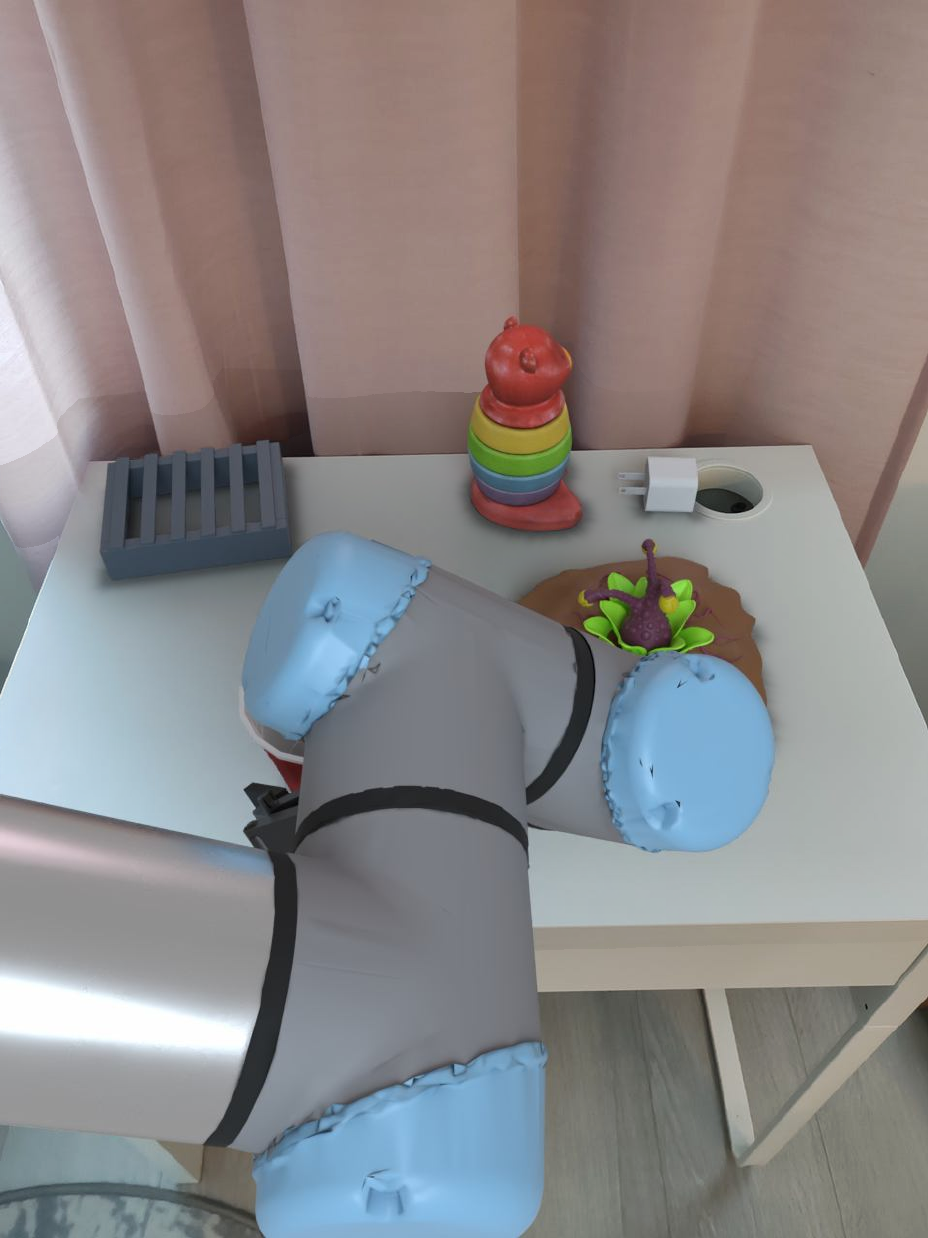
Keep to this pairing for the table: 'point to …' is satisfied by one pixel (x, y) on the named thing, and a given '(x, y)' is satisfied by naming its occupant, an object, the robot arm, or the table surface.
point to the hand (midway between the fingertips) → (338, 740)
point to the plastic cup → (276, 747)
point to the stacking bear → (523, 433)
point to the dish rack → (210, 541)
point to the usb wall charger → (666, 484)
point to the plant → (654, 610)
